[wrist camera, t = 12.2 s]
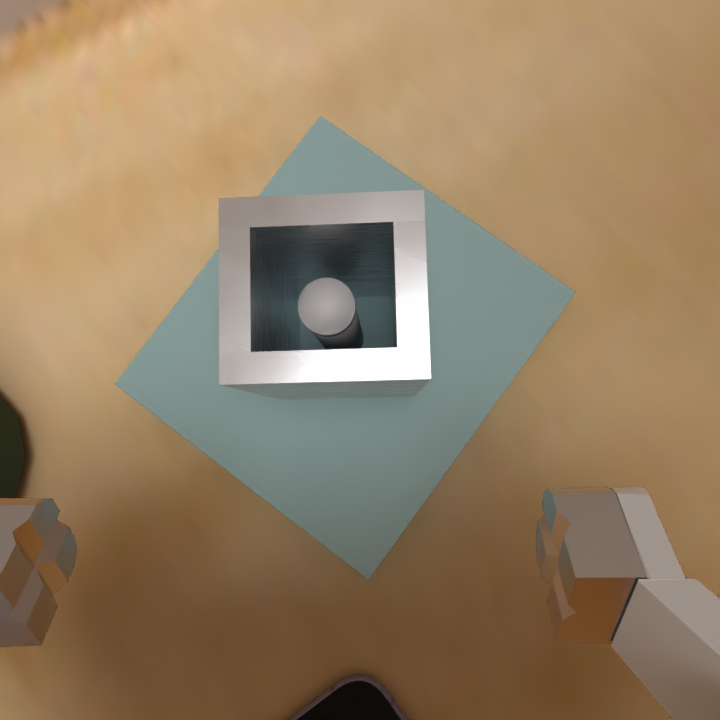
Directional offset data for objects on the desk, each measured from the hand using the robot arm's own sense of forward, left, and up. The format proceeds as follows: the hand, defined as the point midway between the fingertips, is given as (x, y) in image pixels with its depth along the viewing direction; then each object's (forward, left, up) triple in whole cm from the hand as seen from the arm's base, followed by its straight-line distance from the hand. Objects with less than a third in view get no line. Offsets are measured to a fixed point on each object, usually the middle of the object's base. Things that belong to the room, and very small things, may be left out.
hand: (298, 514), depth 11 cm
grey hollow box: (-4, -3, -11) cm, 12 cm away
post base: (-4, -3, -12) cm, 13 cm away
